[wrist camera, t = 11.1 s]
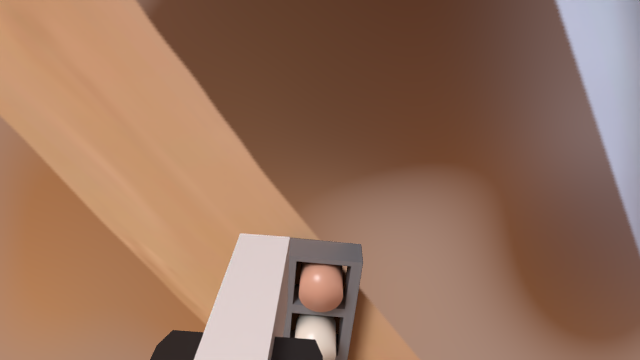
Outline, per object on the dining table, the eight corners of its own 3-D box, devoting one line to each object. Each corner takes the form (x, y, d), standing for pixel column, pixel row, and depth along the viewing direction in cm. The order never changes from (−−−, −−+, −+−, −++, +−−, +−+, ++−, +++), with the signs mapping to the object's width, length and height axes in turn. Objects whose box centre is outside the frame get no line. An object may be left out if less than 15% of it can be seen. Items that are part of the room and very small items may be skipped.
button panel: (288, 237, 44) (285, 255, 41) (361, 244, 44) (363, 262, 41) (278, 373, 52) (275, 395, 49) (340, 378, 52) (340, 401, 49)
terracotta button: (303, 249, 44) (300, 274, 40) (344, 253, 44) (345, 278, 40) (299, 282, 46) (297, 310, 42) (339, 286, 46) (340, 314, 42)
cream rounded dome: (297, 306, 45) (294, 336, 42) (337, 310, 46) (338, 340, 42) (294, 337, 47) (291, 367, 44) (333, 340, 47) (333, 371, 44)
